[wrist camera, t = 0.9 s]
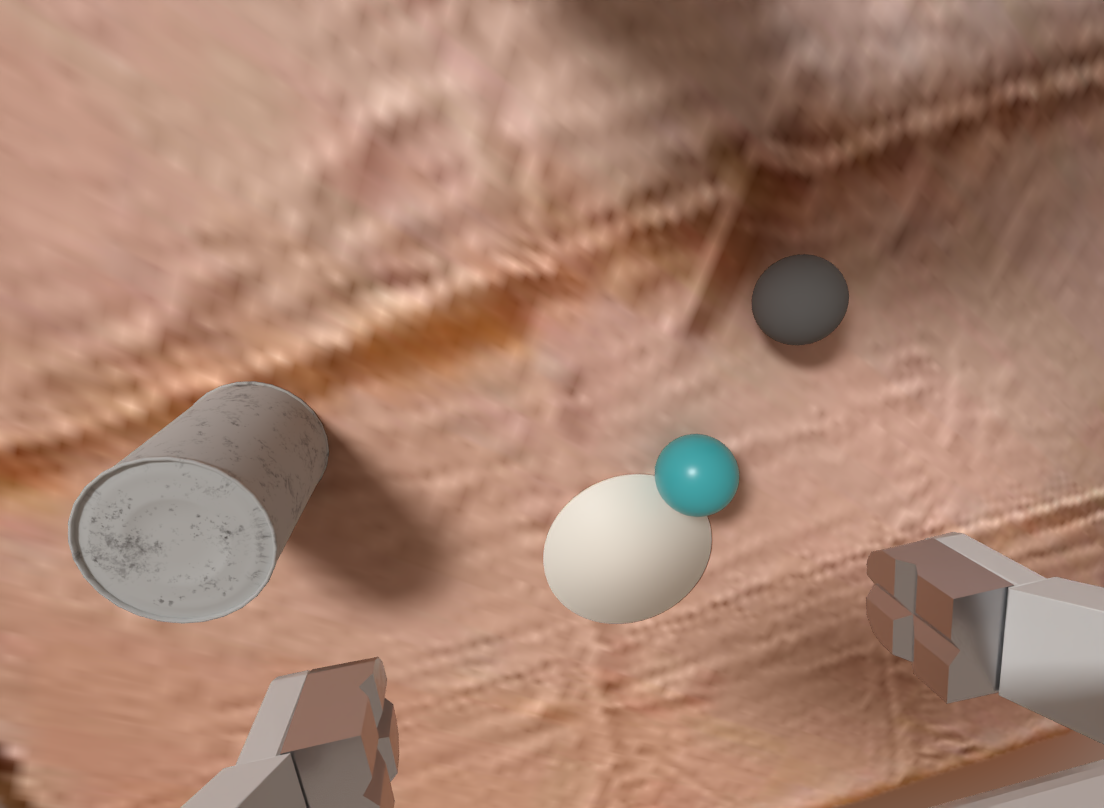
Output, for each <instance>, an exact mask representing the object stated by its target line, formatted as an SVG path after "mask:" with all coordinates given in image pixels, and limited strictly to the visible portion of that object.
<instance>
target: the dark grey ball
mask: <svg viewBox="0 0 1104 808" xmlns="http://www.w3.org/2000/svg"><path fill="white" fill-rule="evenodd" d="M848 301H849V293H848V287H847V284H846V281H845V279H844V277H843V275H842V273H841V272H840V271H839V270H838V269H837V268H836V267H835V266H834V265H833V264H832V263H830V262H829V261H827V260H825V259H823V258H821V257H817V256H814V255H805V254H804V255H793V256H789V257H786V258H783V259H781V260H779V261H777V262H776V263H774V264H772V265H771V266H770V267H769V268H768V269H767V270H766V271H764V273H763V274H762V275H761V276H760V278H759V280H758V281H757V283H756V285H755V288H754V291H753V295H752V311H753V315H754V318H755V320H756V322H757V324H758V326H759V327H760V328H761V329H762V331H763V332H764V333H765V334H767V335H768V336H769V337H771V338H772V339H774V340H776V341H778V342H781V343H784V344H788V345H805V344H810V343H814V342H816V341H819V340H821V339H823V338H824V337H826V336H828V335H829V334H830V333H831V332H833V331H834V330H835V329H836V328H837V326H838V325H839V324H840V322H841V321H842V319H843V318H844V316H845V313H846V311H847V307H848Z"/></svg>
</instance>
